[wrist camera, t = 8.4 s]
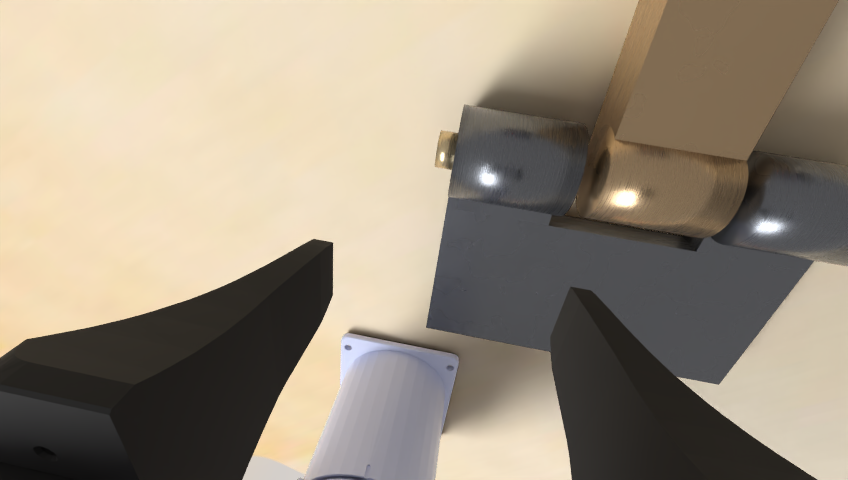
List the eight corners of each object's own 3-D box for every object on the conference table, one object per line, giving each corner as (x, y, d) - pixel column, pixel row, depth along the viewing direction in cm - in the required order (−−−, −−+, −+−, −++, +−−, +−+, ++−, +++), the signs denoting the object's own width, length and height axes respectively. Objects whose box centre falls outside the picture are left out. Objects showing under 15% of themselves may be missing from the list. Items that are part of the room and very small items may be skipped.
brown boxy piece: (671, 213, 19) (710, 255, 16) (570, 195, 20) (587, 233, 16) (802, -45, 14) (903, -66, 11) (661, -65, 14) (715, -90, 11)
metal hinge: (719, 367, 23) (759, 427, 20) (417, 308, 25) (405, 356, 21) (873, 161, 17) (971, 198, 13) (449, 94, 18) (440, 112, 15)
